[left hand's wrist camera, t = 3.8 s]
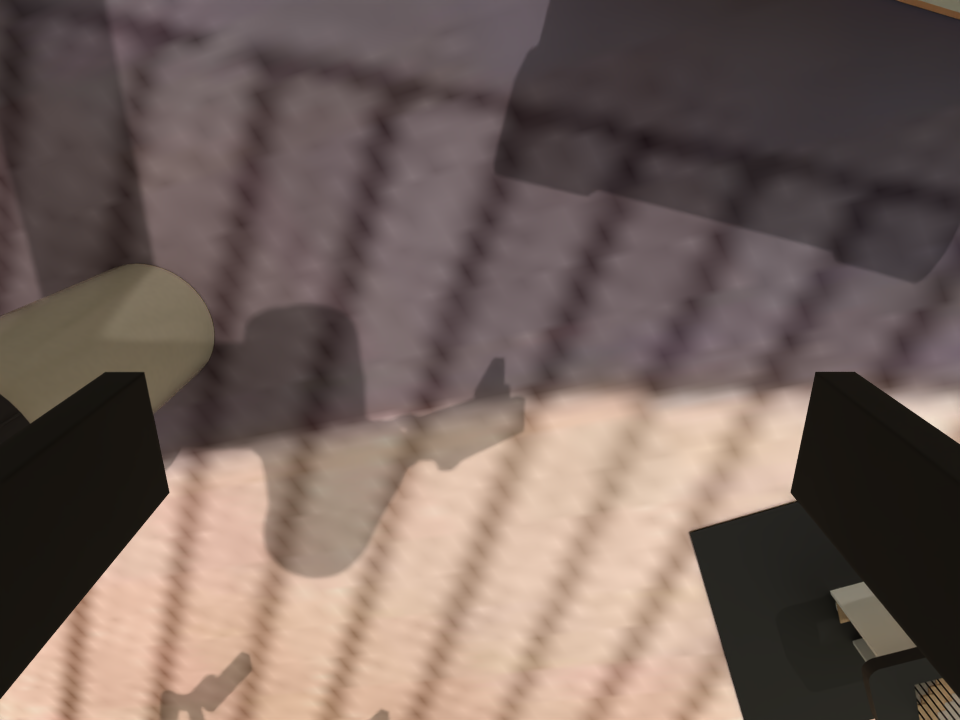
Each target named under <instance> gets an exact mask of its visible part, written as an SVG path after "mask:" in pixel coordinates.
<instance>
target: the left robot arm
mask: <svg viewBox="0 0 960 720" xmlns="http://www.w3.org/2000/svg"><path fill="white" fill-rule="evenodd" d="M168 494H169V488H168V483H167V479H166V474H165V469H164V464H163V459H162V454H161V450H160V445H159V440H158V435H157V430H156V426H155V421H154V416H153V411H152V406H151V401H150V397H149V392H148V387H147V382H146V377H145V372H104V373H103V374H102V375H100V376H99V377H97V378H96V379H94V380H93V381H91V382H90V383H88V384H87V385H86V386H84V387H83V388H81V389H80V390H78V391H77V392H75V393H74V394H72V395H71V396H70V397H68V398H67V399H65V400H64V401H62V402H61V403H59V404H58V405H57V406H55V407H54V408H52V409H51V410H49V411H48V412H46V413H45V414H43V415H42V416H41V417H39V418H38V419H36V420H35V421H33V422H32V423H30V424H29V425H28V426H26V427H25V428H23V429H22V430H20V431H19V432H17V433H16V434H14V435H13V436H12V437H10V438H9V439H7V440H6V441H4V442H3V443H1V444H0V699H1V698H2V696H3V695H4V694H5V693H6V692H7V690H8V689H9V688H10V687H11V685H12V684H13V683H14V682H15V681H16V679H17V678H18V677H19V676H20V674H21V673H22V672H23V671H24V670H25V668H26V667H27V666H28V665H29V663H30V662H31V661H32V660H33V659H34V657H35V656H36V655H37V654H38V652H39V651H40V650H41V649H42V648H43V646H44V645H45V644H46V643H47V641H48V640H49V639H50V638H51V637H52V635H53V634H54V633H55V632H56V630H57V629H58V628H59V627H60V626H61V624H62V623H63V622H64V621H65V619H66V618H67V617H68V616H69V615H70V613H71V612H72V611H73V610H74V609H75V607H76V606H77V605H78V604H79V602H80V601H81V600H82V599H83V598H84V596H85V595H86V594H87V593H88V591H89V590H90V589H91V588H92V587H93V585H94V584H95V583H96V582H97V580H98V579H99V578H100V577H101V576H102V574H103V573H104V572H105V571H106V569H107V568H108V567H109V566H110V565H111V563H112V562H113V561H114V560H115V558H116V557H117V556H118V555H119V554H120V552H121V551H122V550H123V549H124V547H125V546H126V545H127V544H128V543H129V541H130V540H131V539H132V538H133V537H134V535H135V534H136V533H137V532H138V530H139V529H140V528H141V527H142V526H143V524H144V523H145V522H146V521H147V519H148V518H149V517H150V516H151V515H152V513H153V512H154V511H155V510H156V508H157V507H158V506H159V505H160V504H161V502H162V501H163V500H164V499H165V497H166V496H167V495H168ZM791 494H792V495H793V496H794V497H795V499H796V500H797V501H798V502H799V504H800V505H801V506H802V507H803V508H804V510H805V511H806V512H807V513H808V515H809V516H810V517H811V518H812V519H813V521H814V522H815V523H816V524H817V526H818V527H819V528H820V529H821V530H822V532H823V533H824V534H825V535H826V537H827V538H828V539H829V540H830V541H831V543H832V544H833V545H834V546H835V547H836V549H837V550H838V551H839V552H840V554H841V555H842V556H843V557H844V558H845V560H846V561H847V562H848V563H849V565H850V566H851V567H852V568H853V569H854V571H855V572H856V573H857V574H858V576H859V577H860V578H861V579H862V580H863V582H864V583H865V584H866V585H867V587H868V588H869V589H870V590H871V591H872V593H873V594H874V595H875V596H876V598H877V599H878V600H879V601H880V602H881V604H882V605H883V606H884V607H885V609H886V610H887V611H888V612H889V613H890V615H891V616H892V617H893V618H894V620H895V621H896V622H897V623H898V624H899V626H900V627H901V628H902V629H903V630H904V632H905V633H906V634H907V635H908V637H909V638H910V639H911V640H912V641H913V643H914V644H915V645H916V646H917V648H918V649H919V650H920V651H921V652H922V654H923V655H924V656H925V657H926V659H927V660H928V661H929V662H930V663H931V665H932V666H933V667H934V668H935V670H936V671H937V672H938V673H939V674H940V676H941V677H942V678H943V679H944V681H945V682H946V683H947V684H948V685H949V687H950V688H951V689H952V690H953V692H954V693H955V694H956V695H957V696H958V698H959V699H960V444H959V443H957V442H956V441H954V440H953V439H951V438H950V437H948V436H947V435H946V434H944V433H943V432H941V431H940V430H938V429H937V428H935V427H934V426H932V425H931V424H930V423H928V422H927V421H925V420H924V419H922V418H921V417H919V416H918V415H917V414H915V413H914V412H912V411H911V410H909V409H908V408H906V407H905V406H903V405H902V404H901V403H899V402H898V401H896V400H895V399H893V398H892V397H890V396H889V395H887V394H886V393H885V392H883V391H882V390H880V389H879V388H877V387H876V386H874V385H873V384H872V383H870V382H869V381H867V380H866V379H864V378H863V377H861V376H860V375H858V374H857V373H856V372H815V377H814V382H813V387H812V392H811V397H810V401H809V406H808V411H807V416H806V421H805V425H804V430H803V435H802V440H801V445H800V450H799V454H798V459H797V464H796V469H795V474H794V479H793V483H792V488H791Z"/></svg>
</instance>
